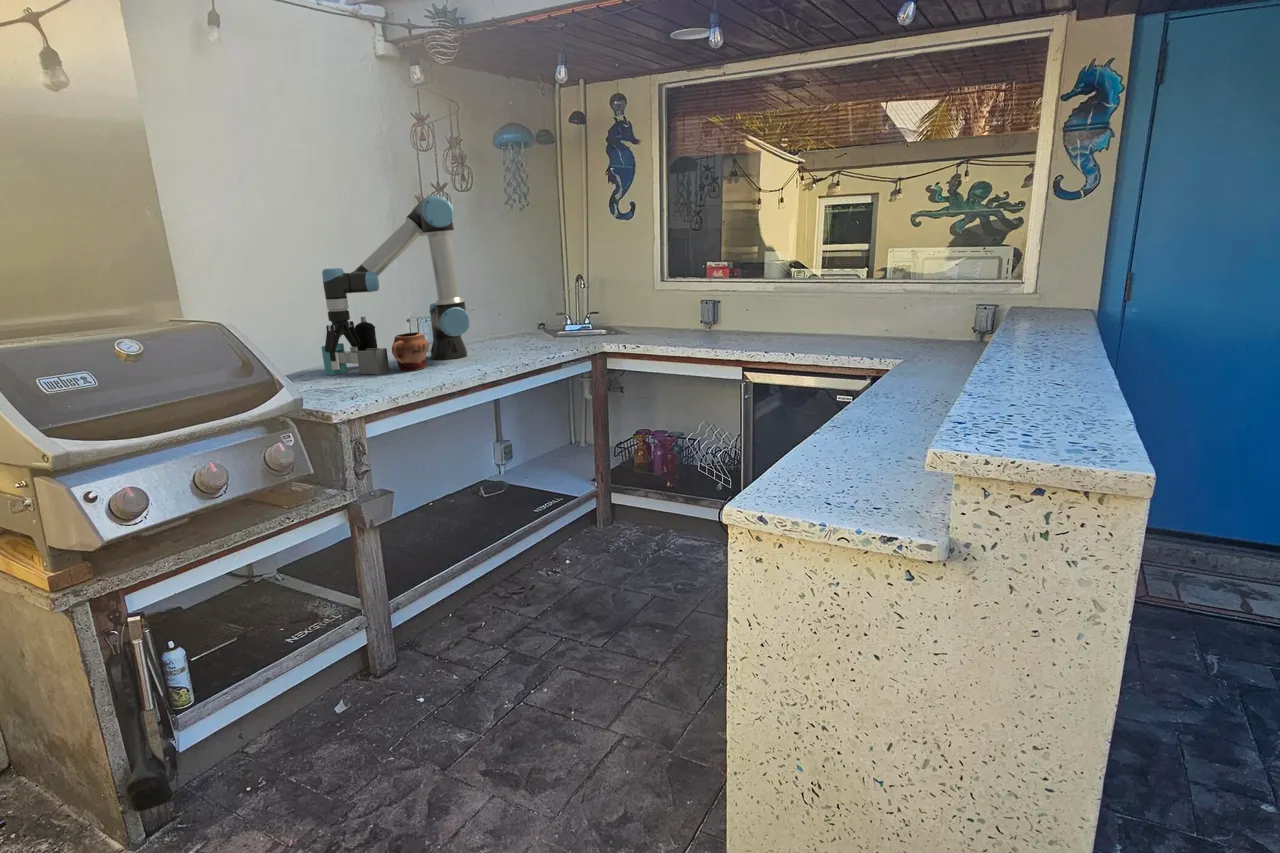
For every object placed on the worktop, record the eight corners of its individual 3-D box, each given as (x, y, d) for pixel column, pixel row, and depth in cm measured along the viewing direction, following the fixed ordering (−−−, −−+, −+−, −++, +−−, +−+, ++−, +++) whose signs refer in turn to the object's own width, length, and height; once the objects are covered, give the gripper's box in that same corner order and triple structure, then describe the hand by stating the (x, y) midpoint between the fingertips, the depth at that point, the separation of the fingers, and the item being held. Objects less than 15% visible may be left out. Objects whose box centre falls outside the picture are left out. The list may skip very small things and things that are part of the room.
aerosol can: (368, 368, 289) (361, 318, 284) (354, 367, 293) (347, 317, 288) (384, 365, 295) (378, 315, 290) (371, 364, 300) (364, 315, 295)
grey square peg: (371, 362, 280) (369, 349, 279) (363, 364, 275) (362, 351, 274) (337, 362, 283) (336, 350, 282) (330, 364, 279) (328, 352, 277)
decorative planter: (412, 374, 272) (408, 337, 268) (383, 374, 274) (378, 337, 271) (438, 365, 290) (434, 330, 287) (410, 365, 293) (406, 330, 290)
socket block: (347, 371, 285) (343, 343, 282) (334, 375, 278) (330, 346, 275) (338, 371, 286) (334, 343, 283) (325, 375, 278) (321, 346, 276)
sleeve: (389, 371, 281) (386, 348, 279) (379, 375, 274) (375, 351, 272) (370, 371, 283) (367, 348, 280) (360, 375, 276) (356, 351, 273)
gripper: (348, 307, 287) (355, 360, 292) (308, 313, 264) (317, 372, 269) (365, 306, 285) (372, 360, 291) (326, 313, 262) (335, 372, 268)
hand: (346, 366), depth 280 cm, fingers open, 12 cm apart
